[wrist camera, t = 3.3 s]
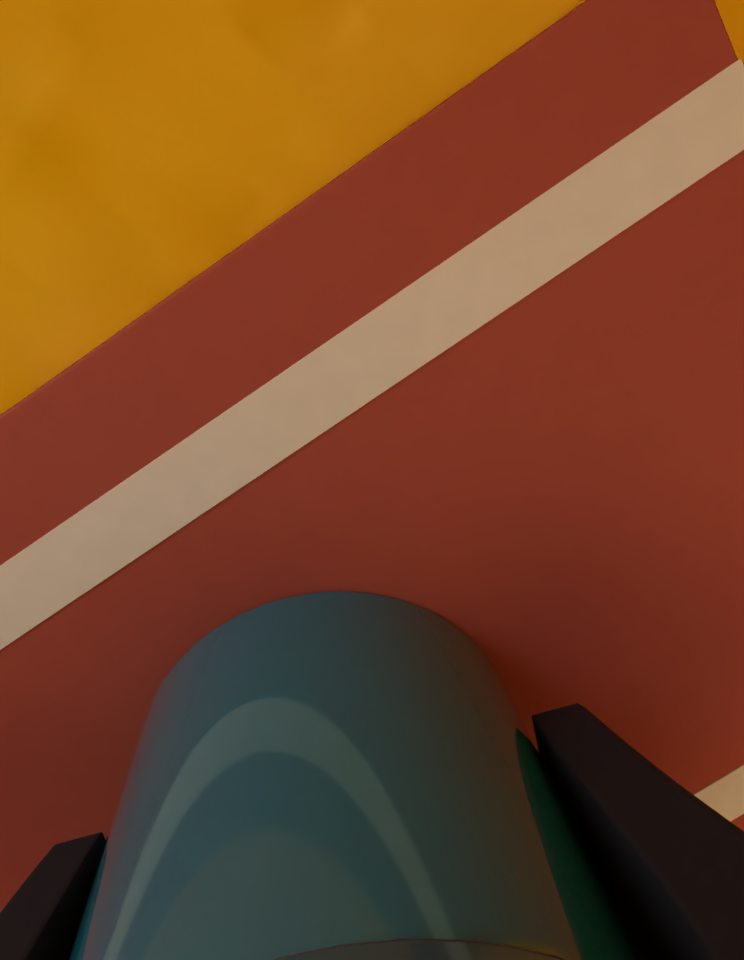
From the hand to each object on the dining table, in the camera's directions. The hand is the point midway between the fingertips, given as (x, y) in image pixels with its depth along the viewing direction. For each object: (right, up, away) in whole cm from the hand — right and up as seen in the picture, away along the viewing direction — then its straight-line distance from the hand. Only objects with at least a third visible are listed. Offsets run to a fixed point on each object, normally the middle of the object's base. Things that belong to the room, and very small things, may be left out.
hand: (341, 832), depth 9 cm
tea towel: (0, +1, +2) cm, 2 cm away
